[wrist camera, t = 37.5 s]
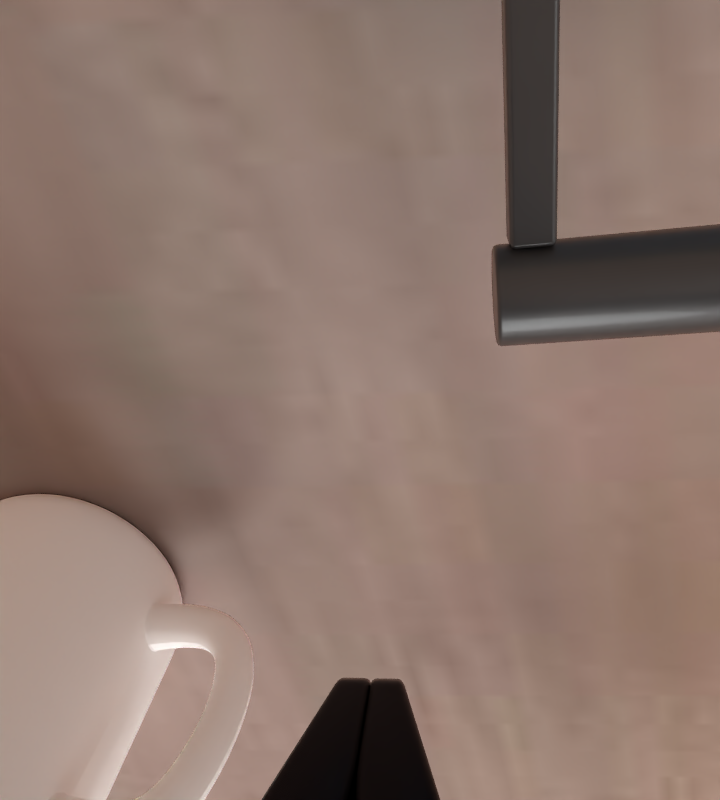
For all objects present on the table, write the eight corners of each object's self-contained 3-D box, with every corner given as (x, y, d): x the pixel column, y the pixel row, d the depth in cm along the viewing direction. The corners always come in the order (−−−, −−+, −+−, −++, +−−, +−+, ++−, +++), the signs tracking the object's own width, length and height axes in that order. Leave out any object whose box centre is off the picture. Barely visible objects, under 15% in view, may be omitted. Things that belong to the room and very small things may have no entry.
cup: (-82, 497, 22) (-452, 802, 13) (255, 462, 19) (90, 807, 10) (22, 669, 25) (-209, 1000, 16) (317, 657, 23) (234, 1036, 14)
